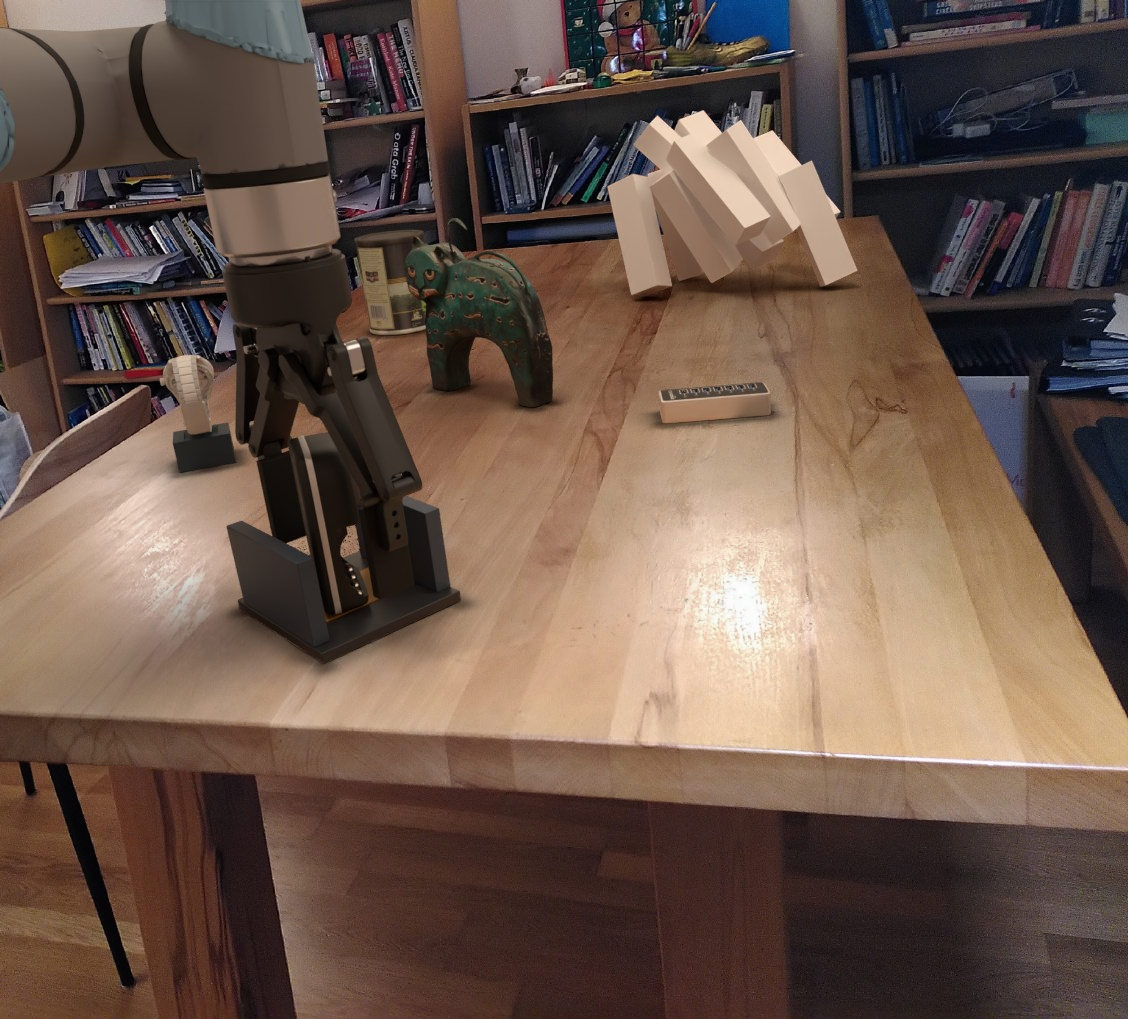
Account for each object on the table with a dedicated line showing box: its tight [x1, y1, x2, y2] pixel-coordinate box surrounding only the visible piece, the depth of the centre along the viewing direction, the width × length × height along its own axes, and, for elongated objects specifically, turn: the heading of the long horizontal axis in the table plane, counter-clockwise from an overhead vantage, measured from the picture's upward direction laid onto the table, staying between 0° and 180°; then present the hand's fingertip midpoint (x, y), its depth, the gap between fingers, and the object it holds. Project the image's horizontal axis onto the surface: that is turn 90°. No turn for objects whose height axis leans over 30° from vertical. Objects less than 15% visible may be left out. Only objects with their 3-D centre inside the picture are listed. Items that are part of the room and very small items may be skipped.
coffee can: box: [354, 229, 426, 336], centre depth 158 cm, size 10×10×14 cm
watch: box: [159, 354, 237, 473], centre depth 105 cm, size 6×8×11 cm
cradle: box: [225, 490, 461, 664], centre depth 72 cm, size 12×11×7 cm
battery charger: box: [288, 432, 369, 615], centre depth 71 cm, size 7×4×11 cm, turn 19°
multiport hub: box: [658, 381, 772, 424], centre depth 107 cm, size 4×11×2 cm, turn 89°
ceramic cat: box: [405, 217, 554, 408], centre depth 118 cm, size 20×6×20 cm, turn 45°
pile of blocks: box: [607, 110, 858, 297], centre depth 165 cm, size 35×30×35 cm
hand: (340, 563), depth 73 cm, fingers open, 13 cm apart
